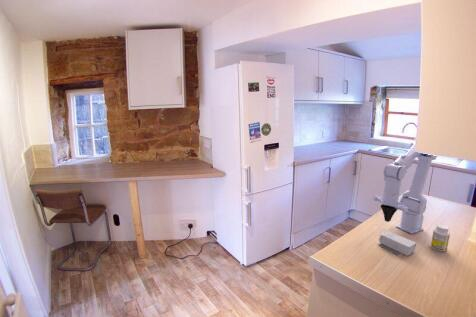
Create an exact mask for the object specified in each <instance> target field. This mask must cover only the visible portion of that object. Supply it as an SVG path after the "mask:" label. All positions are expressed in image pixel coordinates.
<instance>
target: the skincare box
mask: <svg viewBox="0 0 476 317" xmlns="http://www.w3.org/2000/svg"><path fill="white" fill-rule="evenodd" d="M378 241H379V242H378V243H379V244H381V243H382V244H384V245H386V246H388V247H390V248H392V249H394V250H396V251H399V252H401V254H403V255H404V256H409V255H412V254H413V253H414V252H415V251H416V247H417V243H416V242H415V241H413V240H410V239H409V238H405V237H403V236H401V235H399V234H397V233H394V232H391V231H389V230H386V231H385V232H383V233H381V234H380V235H379V240H378Z"/></svg>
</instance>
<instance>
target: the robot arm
mask: <svg viewBox="0 0 476 317" xmlns="http://www.w3.org/2000/svg"><path fill="white" fill-rule="evenodd" d="M415 139H416V138H414V139H412V140H411V142H410V146H409V149H408V151H407V152H406V153H405V154H401V155H399V157H398V158H396V159H395V160H394V161H393V162H391V163H389V164H386V165H385V167H384V168H383V177H384V178H383V179H384V181H385V183H384V189H383V190H384V191H383V196H380V195H374V196H373V201H377V202H379V203H381V204H380V209H381V210H382V214H383V219H384V221H385V222H387V223H388V222H391V220H392V218H393V217H394V214H395V213H396V212H397V211H401V218H400V223H399V224H397V225H396V226H395V227H396V228H398V229H400V230H402V231H405V232H407V233H409V234H412V235H413V234H415V233H418V232H421V231H423V230H424V227H423V222H424V213H425V211H426V209H427V203H428V200H427V198H426V197H425V195H423V190H424V187H425V184H426V180H427V177H428V174H429V170H430V167H431V163H432V161H434V160H437V157H438V155H437V156H433V155H428V154H423V153H418V152H415V151H414V146H415ZM416 158H417V159H418V161H417V164H416V167H415V172H414V175H413V179H412V181H411V185H410V188H409V191H406V192H404V193H403V194H401V195H402V196H401V198H400V192H401V185H402V181H403V179H404V178H405V175H406V174H407V173H408V172H407V170H408V169H409V168H411V166H412V165H413V164H414V160H415V159H416ZM399 198H400V199H399Z"/></svg>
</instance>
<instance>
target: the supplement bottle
mask: <svg viewBox="0 0 476 317" xmlns="http://www.w3.org/2000/svg"><path fill="white" fill-rule="evenodd" d="M450 233H451V232H450V231H449V226H447V225H444V224H437V225H436V228H434V229H433V232H432V237H431V243H430V247H431V248H432V249H434V250H435V251H439V252H446V251H448V245H449V240H450V236H451V234H450Z"/></svg>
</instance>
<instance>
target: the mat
mask: <svg viewBox="0 0 476 317" xmlns="http://www.w3.org/2000/svg"><path fill="white" fill-rule="evenodd" d="M377 246H379V247H381V248H384V249H385V250H386V251H388V252H390V253H392V254H393V255H396V256H399V255H401V254H402V253H401V252H399V251H396V250H394V249H392V248H390V247H388V246H386V245H384V244H382V243H378V245H377Z"/></svg>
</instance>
